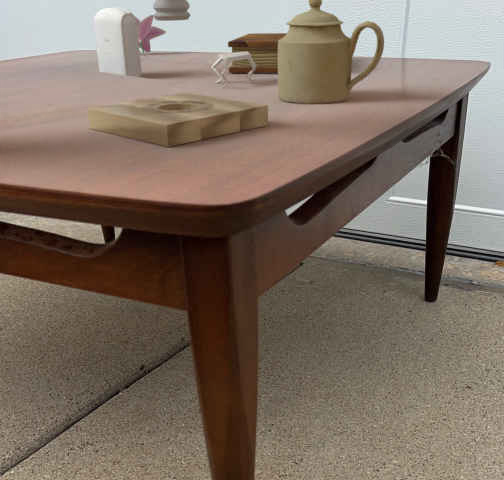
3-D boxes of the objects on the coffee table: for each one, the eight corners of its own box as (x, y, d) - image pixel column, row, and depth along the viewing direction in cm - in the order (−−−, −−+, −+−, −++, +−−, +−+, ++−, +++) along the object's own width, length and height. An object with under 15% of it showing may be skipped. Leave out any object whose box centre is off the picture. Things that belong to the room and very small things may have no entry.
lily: (174, 57, 171) (164, 20, 171) (159, 41, 159) (148, 2, 160) (130, 73, 173) (120, 37, 173) (112, 59, 162) (101, 20, 162)
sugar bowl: (367, 90, 111) (372, -12, 104) (382, 102, 101) (389, -10, 94) (274, 93, 110) (274, -10, 104) (281, 105, 100) (281, -8, 94)
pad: (168, 147, 77) (166, 124, 76) (89, 128, 87) (87, 108, 86) (268, 125, 87) (268, 105, 86) (187, 110, 97) (186, 92, 96)
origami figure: (212, 79, 126) (211, 51, 124) (258, 79, 125) (258, 50, 123) (205, 89, 115) (203, 58, 113) (255, 89, 115) (254, 58, 113)
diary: (325, 73, 130) (326, 41, 128) (228, 73, 133) (227, 42, 131) (333, 59, 151) (334, 31, 148) (249, 60, 154) (249, 32, 151)
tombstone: (95, 76, 134) (88, 7, 128) (114, 73, 136) (108, 6, 131) (126, 80, 127) (119, 8, 121) (145, 78, 129) (139, 7, 124)
